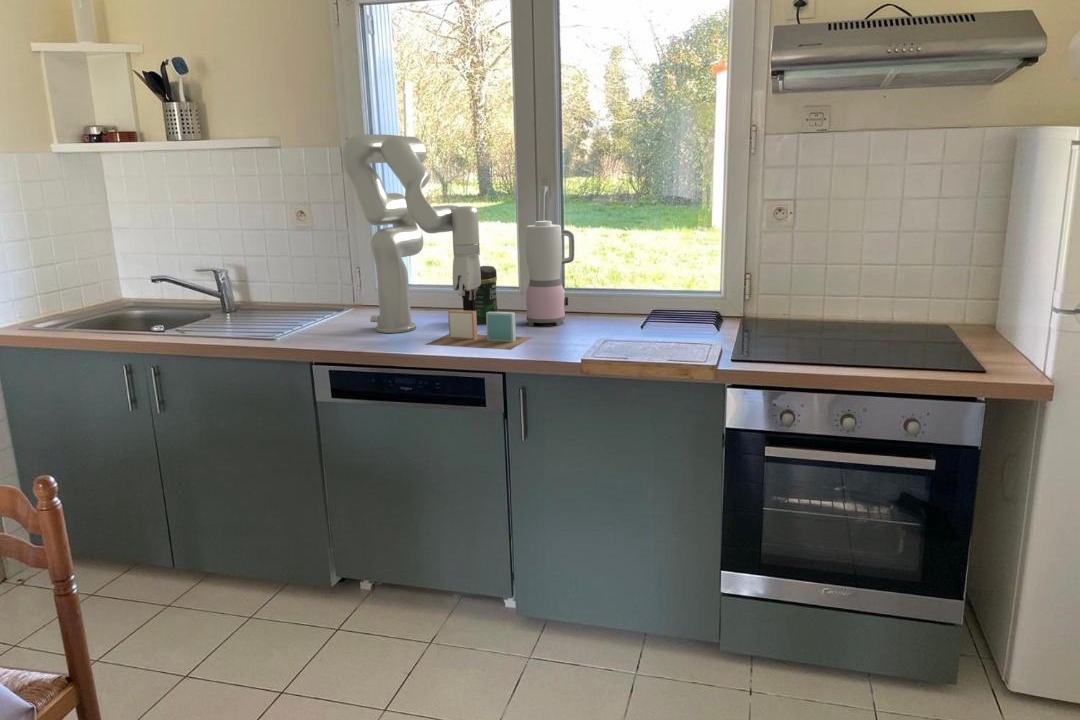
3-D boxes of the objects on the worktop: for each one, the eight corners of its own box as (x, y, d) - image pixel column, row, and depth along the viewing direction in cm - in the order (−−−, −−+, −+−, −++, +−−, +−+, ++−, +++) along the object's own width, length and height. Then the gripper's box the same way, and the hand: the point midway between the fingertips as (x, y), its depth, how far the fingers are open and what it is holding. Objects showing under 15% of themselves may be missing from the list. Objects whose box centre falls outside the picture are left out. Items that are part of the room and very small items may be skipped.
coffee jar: (488, 328, 254) (485, 268, 250) (466, 326, 258) (463, 267, 253) (502, 322, 263) (500, 264, 258) (481, 320, 266) (478, 264, 262)
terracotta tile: (449, 338, 236) (447, 311, 234) (452, 336, 238) (451, 309, 236) (474, 339, 233) (472, 312, 231) (477, 338, 235) (476, 310, 233)
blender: (525, 327, 253) (522, 223, 246) (526, 319, 265) (523, 220, 258) (576, 326, 253) (574, 221, 246) (574, 318, 265) (573, 219, 258)
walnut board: (425, 347, 229) (425, 344, 229) (451, 336, 244) (451, 332, 243) (510, 353, 220) (510, 349, 220) (532, 340, 234) (532, 337, 234)
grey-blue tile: (487, 340, 232) (485, 312, 230) (490, 338, 234) (488, 311, 232) (512, 342, 229) (511, 313, 227) (515, 340, 231) (514, 312, 229)
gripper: (465, 247, 242) (469, 308, 246) (442, 253, 228) (446, 317, 233) (489, 247, 239) (491, 309, 244) (467, 253, 226) (470, 318, 230)
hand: (469, 313), depth 238 cm, fingers closed
